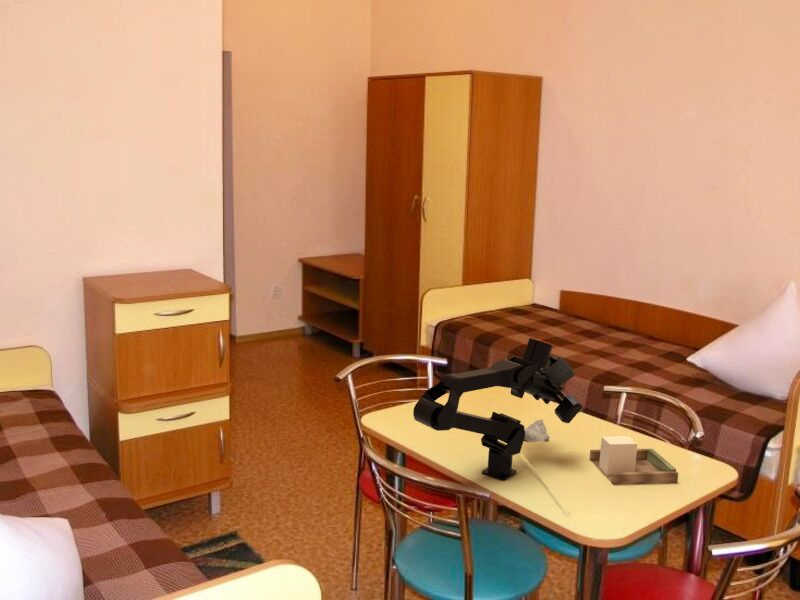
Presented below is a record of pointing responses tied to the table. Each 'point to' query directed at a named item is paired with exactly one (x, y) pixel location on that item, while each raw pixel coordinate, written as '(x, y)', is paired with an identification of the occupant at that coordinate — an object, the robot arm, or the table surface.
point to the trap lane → (642, 469)
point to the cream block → (617, 454)
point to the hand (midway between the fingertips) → (570, 398)
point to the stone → (536, 432)
